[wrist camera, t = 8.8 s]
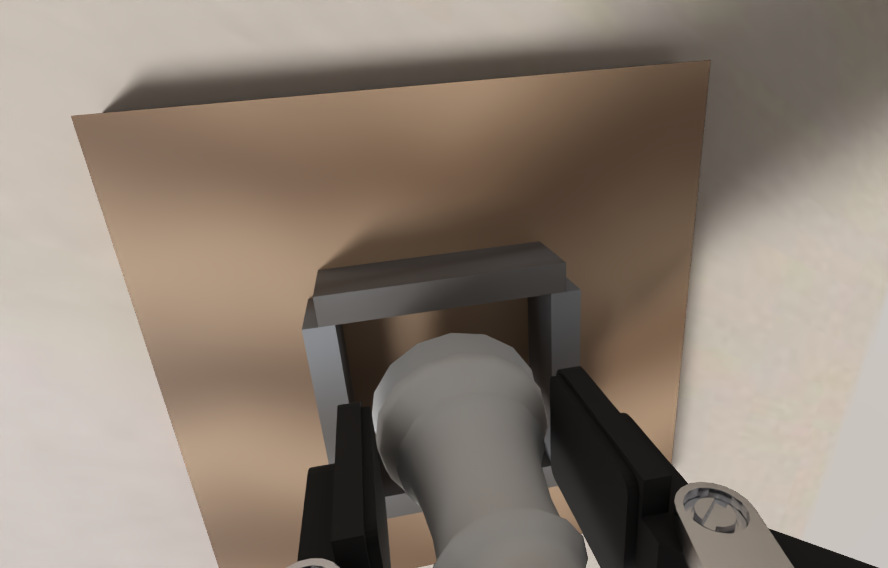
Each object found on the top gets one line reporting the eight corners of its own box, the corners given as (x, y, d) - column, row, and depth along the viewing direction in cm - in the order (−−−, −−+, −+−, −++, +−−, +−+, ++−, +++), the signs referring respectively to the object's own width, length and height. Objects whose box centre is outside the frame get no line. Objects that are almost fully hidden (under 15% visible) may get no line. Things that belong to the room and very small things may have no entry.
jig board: (100, 113, 13) (19, 120, 10) (677, 62, 15) (765, 54, 12) (240, 568, 19) (217, 665, 16) (645, 488, 21) (698, 560, 18)
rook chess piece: (380, 478, 15) (408, 878, 7) (359, 336, 13) (369, 660, 6) (532, 452, 15) (704, 797, 8) (531, 313, 14) (747, 580, 6)
